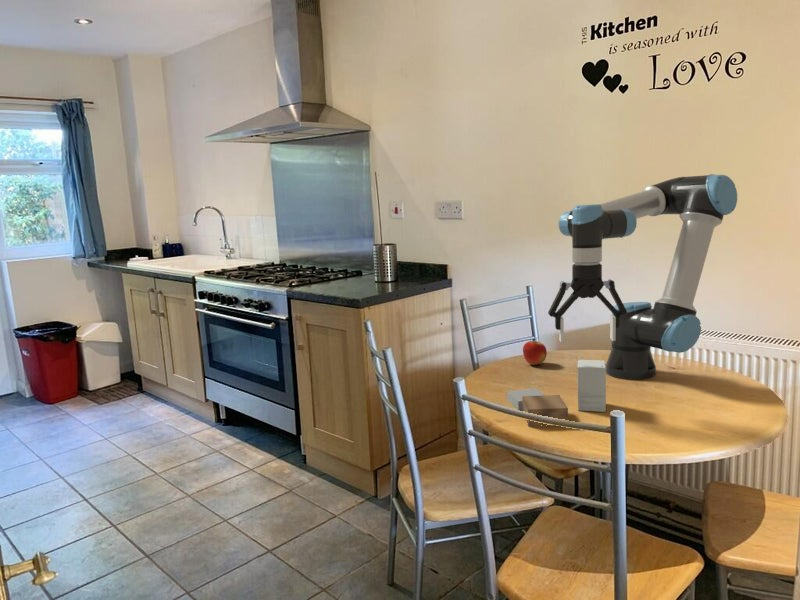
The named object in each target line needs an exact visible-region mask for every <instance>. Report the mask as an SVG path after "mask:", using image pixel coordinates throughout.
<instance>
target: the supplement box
mask: <svg viewBox="0 0 800 600" xmlns="http://www.w3.org/2000/svg"><path fill="white" fill-rule="evenodd" d="M577 360H578V361H577V366H576V369H577V370H576V371H577V373H576V374H577V411H579V412H597V413H598V412H599V413H606V412H607V410H606V407H607V406H606V403H607V399H606V398H607V397H606V396H607V394H606V391H607V383H606V382H607V381H606V380H607V379H606V378H607V377H606V376H607V373H606V362H605V360H599V359H596V360H595V359H577Z"/></svg>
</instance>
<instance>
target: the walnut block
mask: <svg viewBox="0 0 800 600" xmlns="http://www.w3.org/2000/svg"><path fill="white" fill-rule="evenodd" d="M522 407H523V410H522V412H523V411H525V412H528V413H533V414H537V415H542V416H548V417H553V418H558V419H565V420H568V421H569V407H568V405H566V403H565V401H564V400H563V398H562V397H561V395H560V394H548V395H547V394H544V395H543V396H522ZM526 421H527V422H526ZM525 422H526V424H527V423H528V424H527V426H528V427H529V426H537V427H552V426H551V425H547V424H543V423H538V422H534V421H530V420H526V419H525ZM541 425H542V426H541ZM546 425H547V426H546Z"/></svg>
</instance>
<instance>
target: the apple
mask: <svg viewBox="0 0 800 600" xmlns="http://www.w3.org/2000/svg"><path fill="white" fill-rule="evenodd" d="M535 338H536V340H529V341H527V342H525V343H524V345H523V346H522V354H523V358H524V359H525V361H526V362H527V363H528V364H529V365H531V366H536V365H540V364H542V363H544V362H545V360H546V359H547V353H548V352H547V348H546V346H545V344H544V343H542V342H540V341H538V340H537V339H538V337H535Z"/></svg>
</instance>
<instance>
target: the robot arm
mask: <svg viewBox="0 0 800 600" xmlns="http://www.w3.org/2000/svg"><path fill="white" fill-rule="evenodd" d="M737 203H738V192H737V188H736V184H735V182H734V181H733V180H732V179H731V177H730V176H728V175H726V174H711V173H710V174H707V175H705V174H704V175H695V176H694V175H693V176H680V177H675V178H671V179H668V180H664V181H661V182H658V183H655V184H652V185H649V186H646V187H644V188H643V190H642V191H641V192H640V191H639V192H636V193H634V194H630V195H627V196H623V197H619V198H617V199H613V200H609V201H606V202H602V203H600V204H581V205H580V204H578V205H574V207H573V208H572V210H567V211H565V212H563V213H562V214H560V216H559V218H558V230H559V231H560V233H561V234H562V235H564V236H566V237H571V240H572V250H571V251H572V254H571V255H572V256H571V257H572V258H571V259H572V262H573V265H572V270H571V271H572V274H571V275H572V279H571V282H567V281H566V282H565V281H563V280H561V281H560V282H559V290H558V292H557V294H556V295H555V298H554V300H553V302H552V304H551V306H550V308H549V310H548V315H549V316H550V317H552V318H554V321H555V322H554V323H555V324H554V328H555V330H557V331H558V338H559V339H558V340H559V342H560V343H564V342H565V341H564V340H565V339H564V337H565V332H564V329H565V328H564V327H565V323H564V321H565V320H564V318H563V316H564V314H565V313H566V312H568V310H569V308H570V307H571V306H572V305H573V304H574V303H575V301H577V300H578V299H579V298H580V299H587V298H589V299H594V298H596V297H597V298H598V300H600V301H601V302H602V303H603V305H605V307H606V308H607V309H608V310H609V311H610V312H611V314H610V315H609V316H610V318H609V339H610V340H611V349H610V351H609V355H608V358H607V361H606V362H605V367H606V375H608V376H611V377H613V378H618V379H625V380H646V379H651V378H653V377H656V375H657V368H656V364H655V361H654V358H653V357H654V356H653V355H652V351H651V348H654V349H659V350H663V351H666V352H670V353H671V352H673V353H677V354H679V353H686V352H687V351H689V350H690V349H692V348H693V347H694V346H695V345H696V343H698V340H699V338H700V336H701V332H702V326H701V320H700V319H699V317H697V309H696V308H695V305H694V302H695V297H696V294H697V291H698V288H699V283H700V280H701V276H702V274H703V269H704V266H705V261H706V258H707V254H708V251H709V248H710V244H711V241H712V237H713V233H714V232H715V231H714V229H715V228H716V227H717V226H720V225H721V224H722V223H723V219H724V216H727V215H730V214H731V213H733V211H734V210H735V209H736V207H737ZM660 215H679V218H680V220H681V221H682V226H681V228H680V233H679V237H678V239H677V242H676V248H675V250H674V253H673V258H672V261H671V264H670V267H669V272H668V275H667V279H666V282H665V285H664V290H663V292H662V296H661V298H659V299H658V300H656V301H654V304H653V307H652V303H651V302H650V301H632V302H623V301H622V299H621V297H620V296H619V294H618V291H617V290H616V285H615V281H614V280H612V279H608V280H604V281H603V265H602V264H601V263H602V261H603V255H602V254H603V247H602V246H603V240H606V239H607V240H608V239H616V238H618V239H619V238H624V237H630V236H631V235H632V234H633V233H634V232H635V231H636V229H637V219H641V218H645V217H647V216H649V217H658V216H660ZM604 286H605V288H606V289H608V291H609V293H610V295H611V297H612V299H613V300H614V303H615V304H616V305H612V303H611V302H610V301H609V300H608V299H607V297H605V295H604V294H603V293H602V292H601V291H602V289H603V287H604ZM569 288H571V289H572V290H573V291H572V293H570V296H569V297H568V298H567V299H566V300H565V301H564V302H563V304H562V305H560V304H561V301H562V300H563V298H564V296H565V294H566V291H568V290H569ZM559 306H560V307H559ZM558 308H559V309H558Z"/></svg>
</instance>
